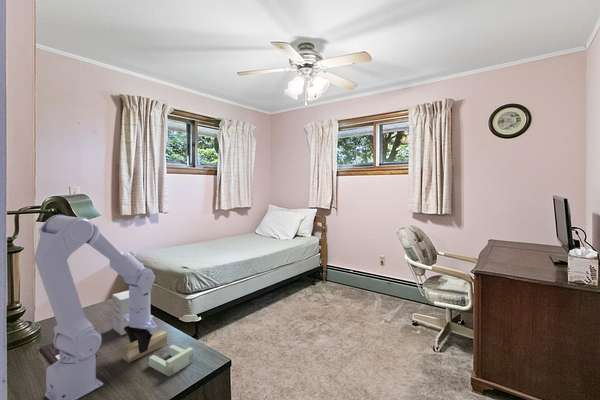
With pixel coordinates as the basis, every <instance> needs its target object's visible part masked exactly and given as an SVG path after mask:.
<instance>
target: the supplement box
mask: <svg viewBox="0 0 600 400" xmlns="http://www.w3.org/2000/svg"><path fill="white" fill-rule="evenodd" d="M126 314H129V289H128V290H124V291H121V292H117V293H113V294H112V329H113V331H116V333H118V334H119V335H120V336H123V335H127V333H126V332H125V330H124V328H125V327H126V326H128V324H127V322H123V315H126Z"/></svg>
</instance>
